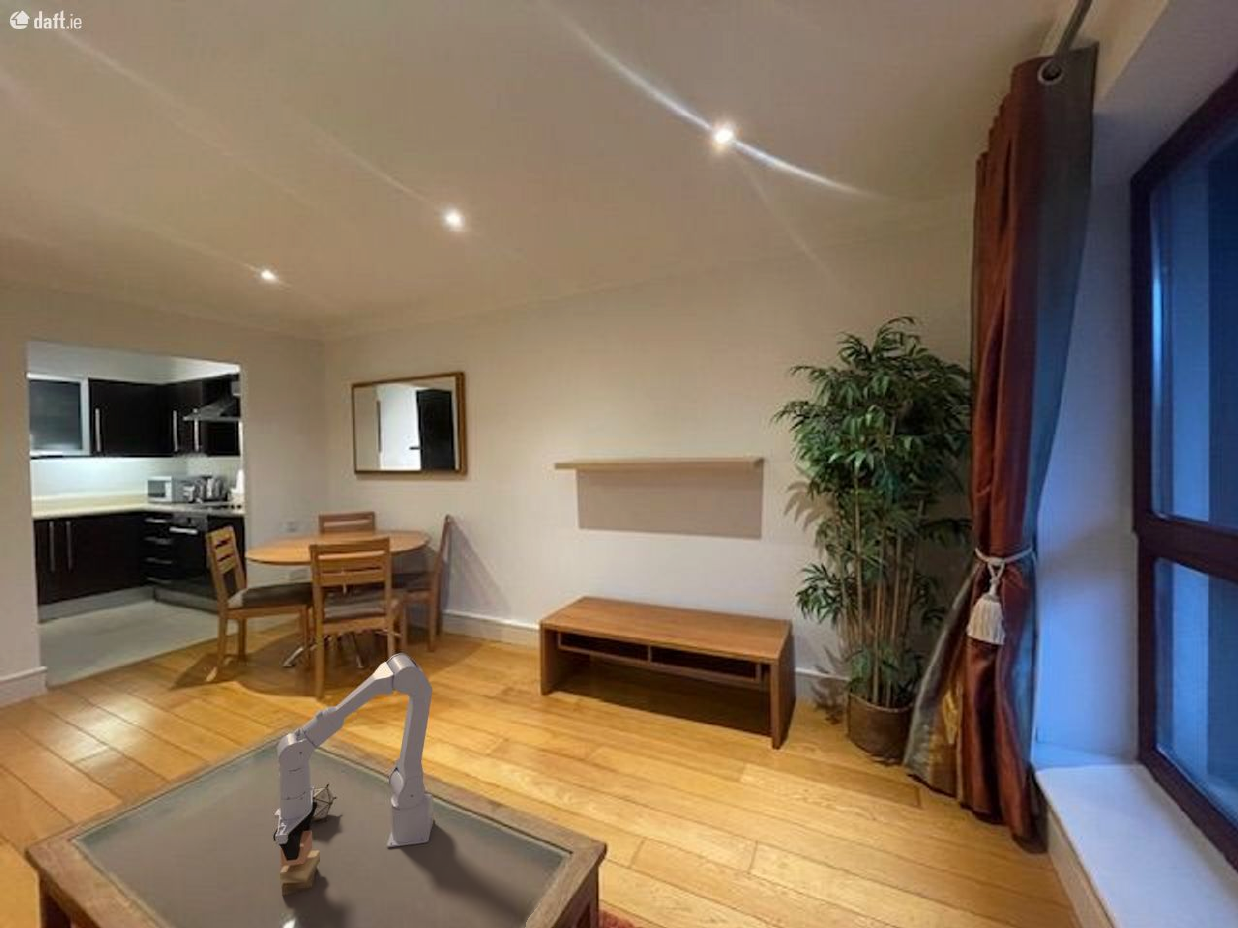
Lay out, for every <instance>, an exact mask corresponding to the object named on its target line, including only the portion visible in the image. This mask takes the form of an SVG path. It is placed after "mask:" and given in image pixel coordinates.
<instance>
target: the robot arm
mask: <svg viewBox="0 0 1238 928" xmlns="http://www.w3.org/2000/svg"><path fill="white" fill-rule="evenodd" d="M393 690H395V691H396V692H398V693H400V694H403V695H407V696H408V702H407V709H406V715H405V721H404V728H403V733H402V740H401V744H400V745H401V746H400V751H399V757H398V758H397V759H396V760H395V762H394V766H393V769H392V770H391V772H390V774H389V776H388V783H389V786H390V788H391V789H392V791H393V792H392V796H391V799H390V806H391V808H390V809H391V811H390V812H391V813H390V814H391V815H390V816H391V831H390V835H389V837H388V840H387V843H386V847H387V848H392V847H400V846H407V845H409V846H410V845H417V844H423V843H428V842H429V839H430V836H431V831H432V828H433V826H434V825H433V824H434V820H433V819H434V817H435V816H434V796H433V794H431V793H425V792H426V785H424V769H423V764H422V761H423V759H422V758H423V753H424V746H425V741H426V734H427V728H428V721H429V714H430V709H431V708H430V707H431V703H432V698H433V697H432V696H433V687H432V685H431V683H430V681H429V679H428V678H427V676H426V673H425V672H424V671H423V670H422V668H421V667H420V666H419V665H418V663H417V662H416V661H415V660H414V659H413V658H412V657H410V656H409V655H408V654H406V653H396V654H394V655H392V656H391V657H390V658H388V660H387V661H384V662H383V663H381V664H380V665H379V666H378V667H377V668H376V669H375V671H374V672H373V673H372V675H370V676H369V677H368V678H367V679H365V680H364V681H363V682H362V683H361V684H360V685H358V687H357V688H355V689H354V690H353V691H352V692H351V693H350V694H348V695H347V696H346V697H345V698H344V699H343V700H342V701H340V703H338V704H337V705H335V706H327V707H325V708H324V709H323V710H322V709H319V710H317V711H316V712H315V714H314V715H315V716H314V717H312V718H311V719H310V720H309V721H308V722H306V723H305V724H303V725H302V726H301V727H300V728H299V727H297V728H296V729H295V730H294V731H292V732H290V733H287V734H285V736H283V737H282V738H281V739H280V741H279V743H278V744H277V746H276V748H275V752H276V755H277V759H278V764H279V766H278V772H279V773H278V789H279V808H278V809H277V810H276V812H274V818H278V824H277V825H278V826H277V829H276V830H275V831H274V832H273V835H272V836H273V838H272V839H273V841H274V842H275V845H279V847H280V849H281V848H282V850H283V853H284V855H285V858H286V860H287V861H290V860H297V858H298V856H299V852H300V842H301V837H302V834H303V832H304V831H309V830H311V827H312V822H313V821H312V819H313V816H314V813H315V810H316V808H317V806H318V803H317V802H312V800H313V796H314V795H315V791H314V789H315V786H311V766H310V764H309V761H310V759H311V757H312V754H313V753H314V752H315V751H316V750H317V749H318V748H319V747H320V746H321V745H323V744H324V743H325V742H327V741H328V740H329V739H330V738H331V737H332V736H333V735H335V734H336V733H337V732H338V731H340V729H342V728H343V726H344V722H345V720H346V718H347V717H349V716H350V715H351V714H353V713H354V712H356V711H357V710H358V709H359V708H361V707H363V706H364V705H366V703H368V702H369V701H371V700H372V699H373V698H374V697H376V696H377V695H394V691H393Z"/></svg>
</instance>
